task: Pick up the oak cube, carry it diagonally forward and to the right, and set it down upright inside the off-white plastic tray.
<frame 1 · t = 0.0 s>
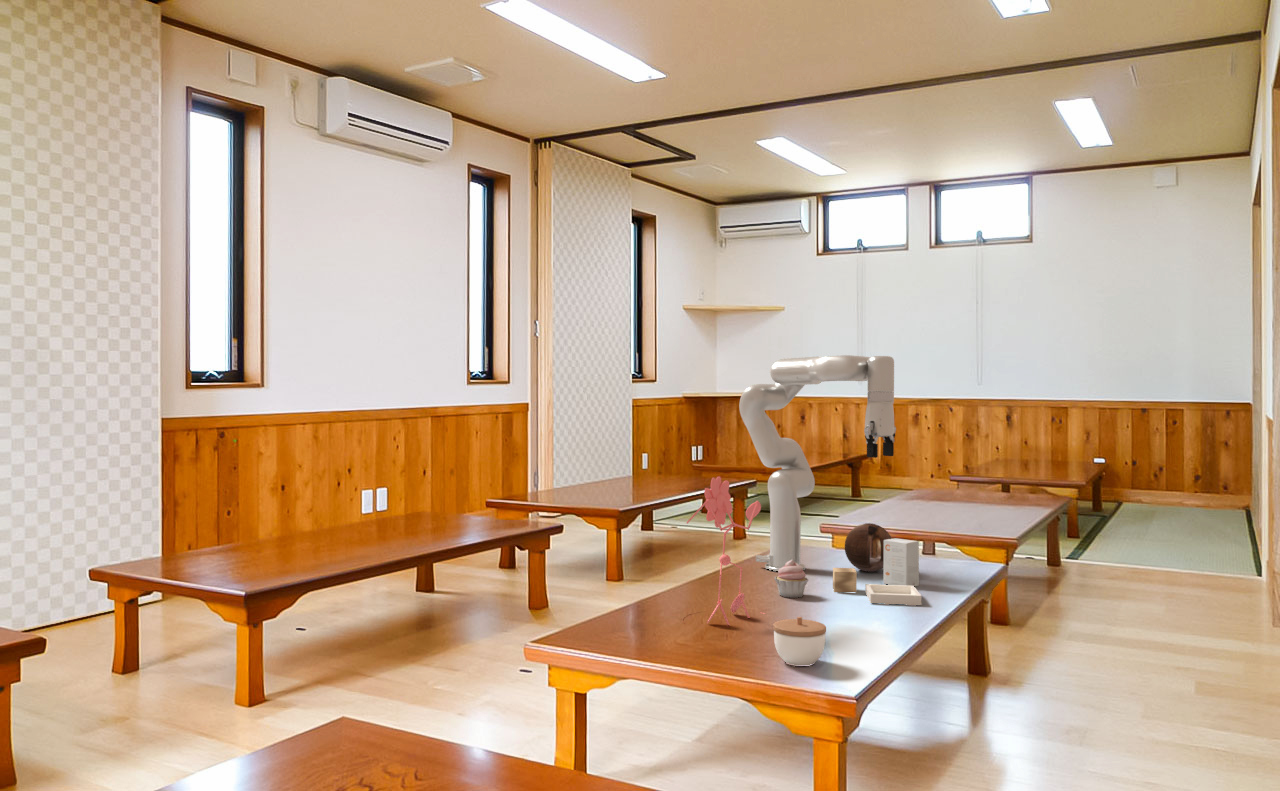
hand: (880, 456, 270), 37 cm above the table, tool pointing down, fingers open, 9 cm apart
figurine: (716, 619, 227), on the table
cube: (844, 591, 260), on the table
small box: (900, 585, 268), on the table
cupcake: (791, 596, 253), on the table
wooden sphere: (868, 571, 289), on the table
lidded jar: (799, 663, 190), on the table
tray: (892, 599, 249), on the table
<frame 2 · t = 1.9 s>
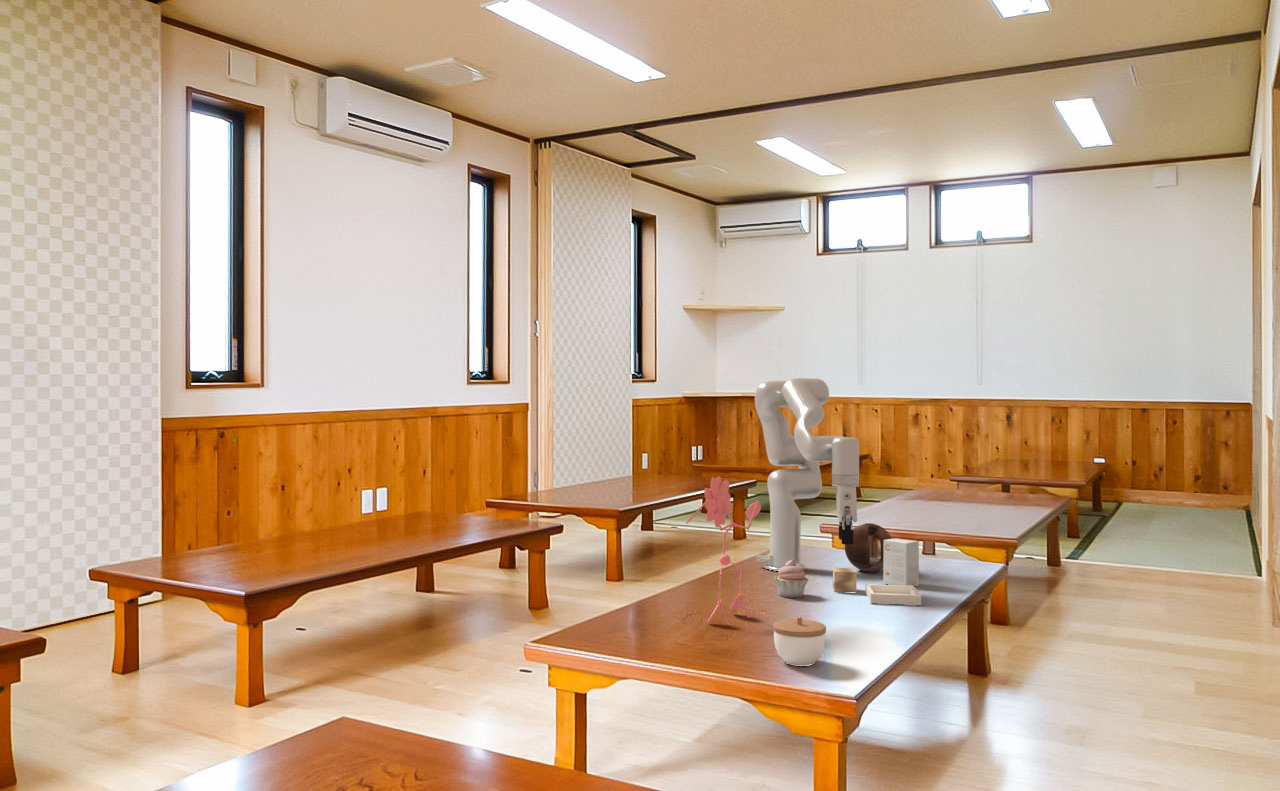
hand: (845, 541, 259), 14 cm above the table, tool pointing down, fingers open, 9 cm apart
nothing on the table moved.
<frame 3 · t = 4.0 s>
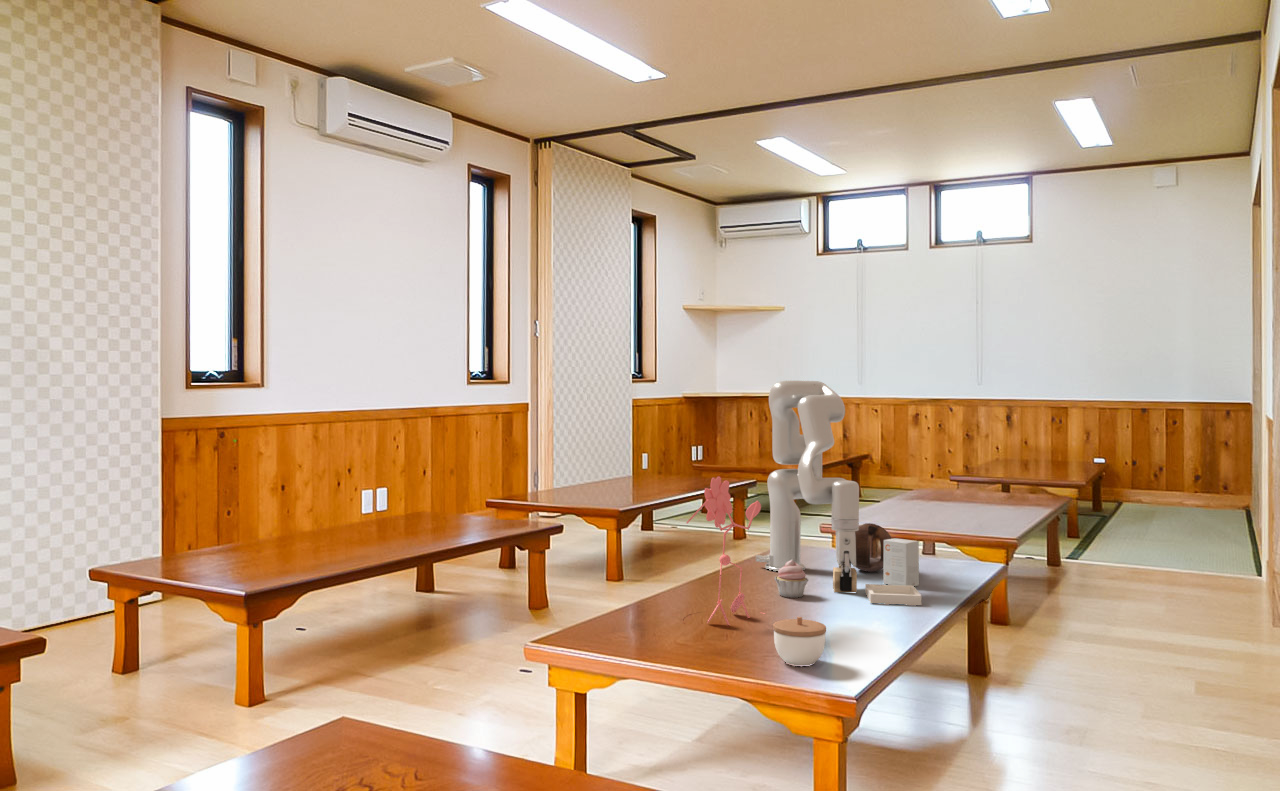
hand: (844, 587, 260), 1 cm above the table, tool pointing down, fingers closed on cube, 6 cm apart
cube: (844, 590, 260), on the table, touching gripper
everything else where it was.
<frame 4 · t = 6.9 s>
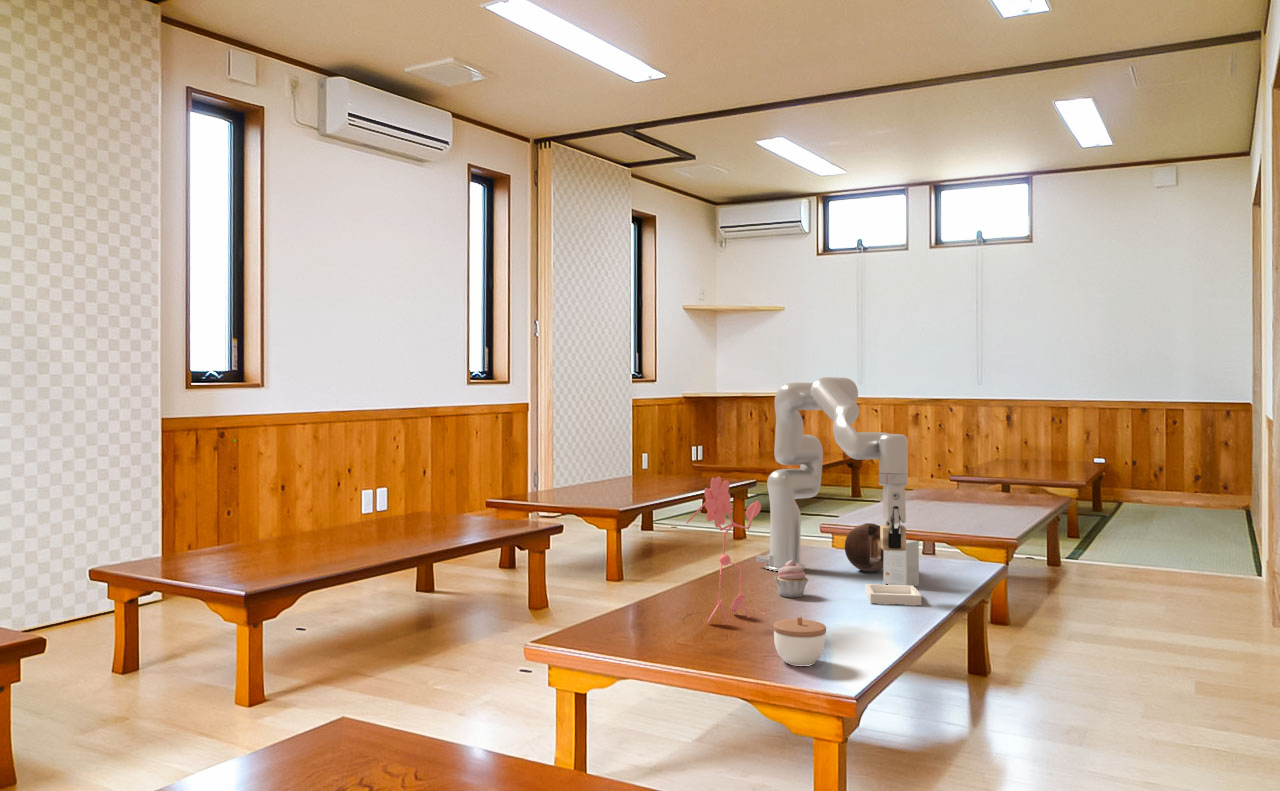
hand: (892, 545, 249), 15 cm above the table, tool pointing down, fingers closed on cube, 6 cm apart
cube: (892, 548, 249), point 14 cm above the table, touching gripper
everything else where it was.
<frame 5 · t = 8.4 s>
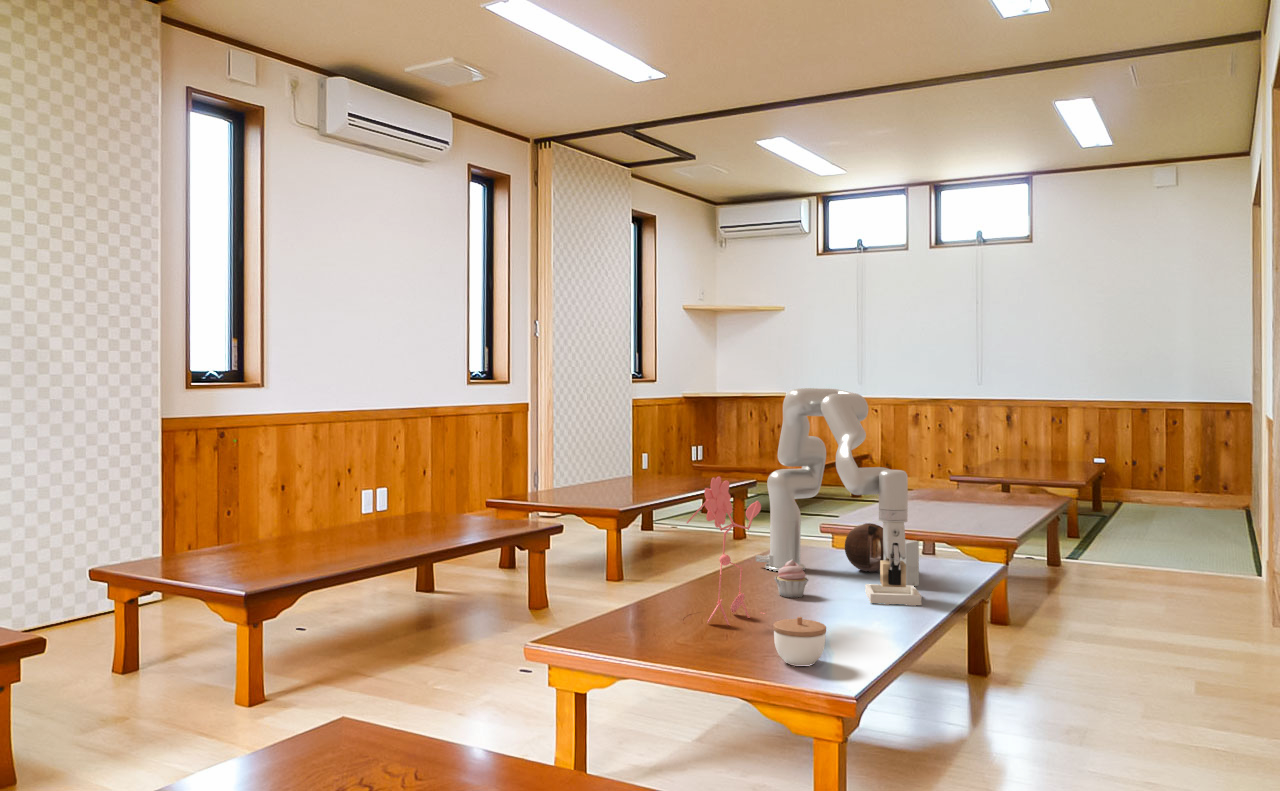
hand: (892, 581, 249), 5 cm above the table, tool pointing down, fingers closed on cube, 6 cm apart
cube: (892, 584, 249), point 4 cm above the table, touching gripper
everything else where it was.
when the fingers open (3 cm above the table, at t = 9.8 s): cube drops 1 cm, resting on tray.
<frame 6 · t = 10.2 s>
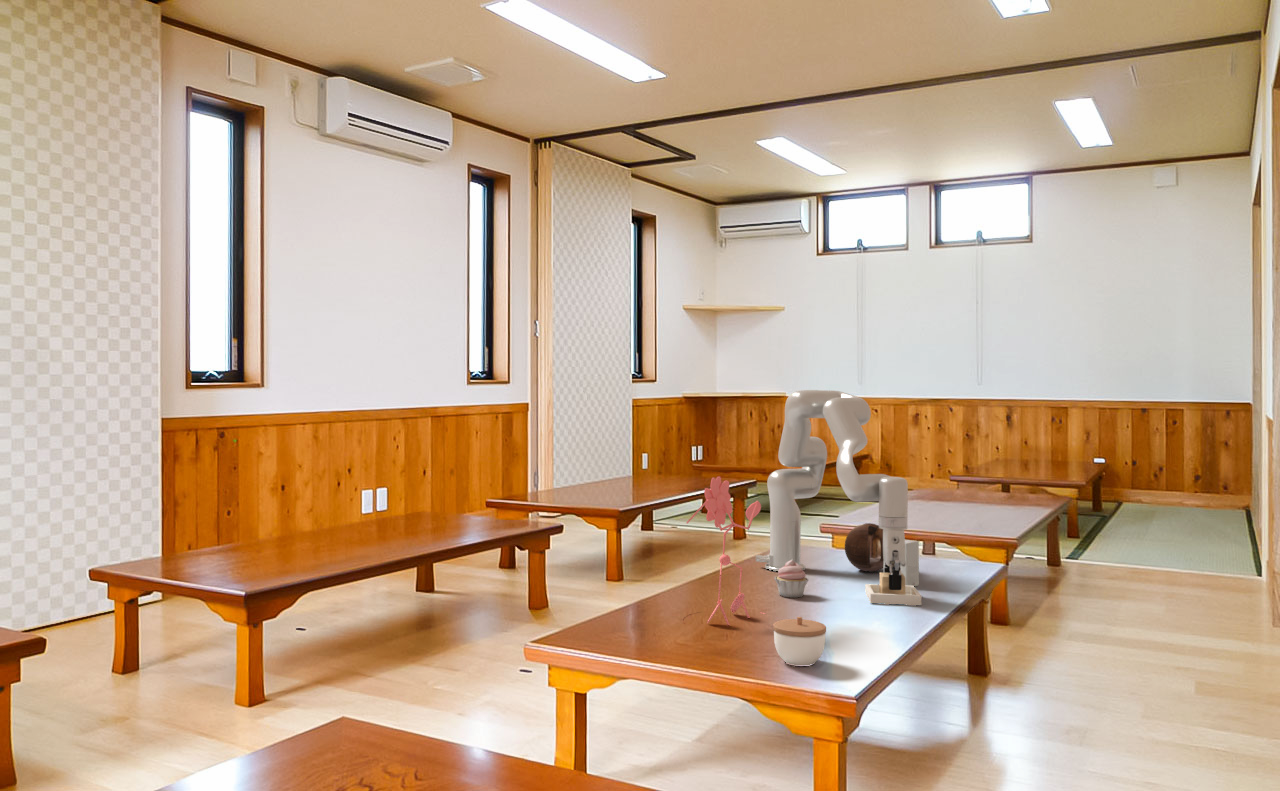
hand: (892, 586, 249), 4 cm above the table, tool pointing down, fingers open, 9 cm apart
cube: (892, 597, 249), point 1 cm above the table, touching tray
everything else where it was.
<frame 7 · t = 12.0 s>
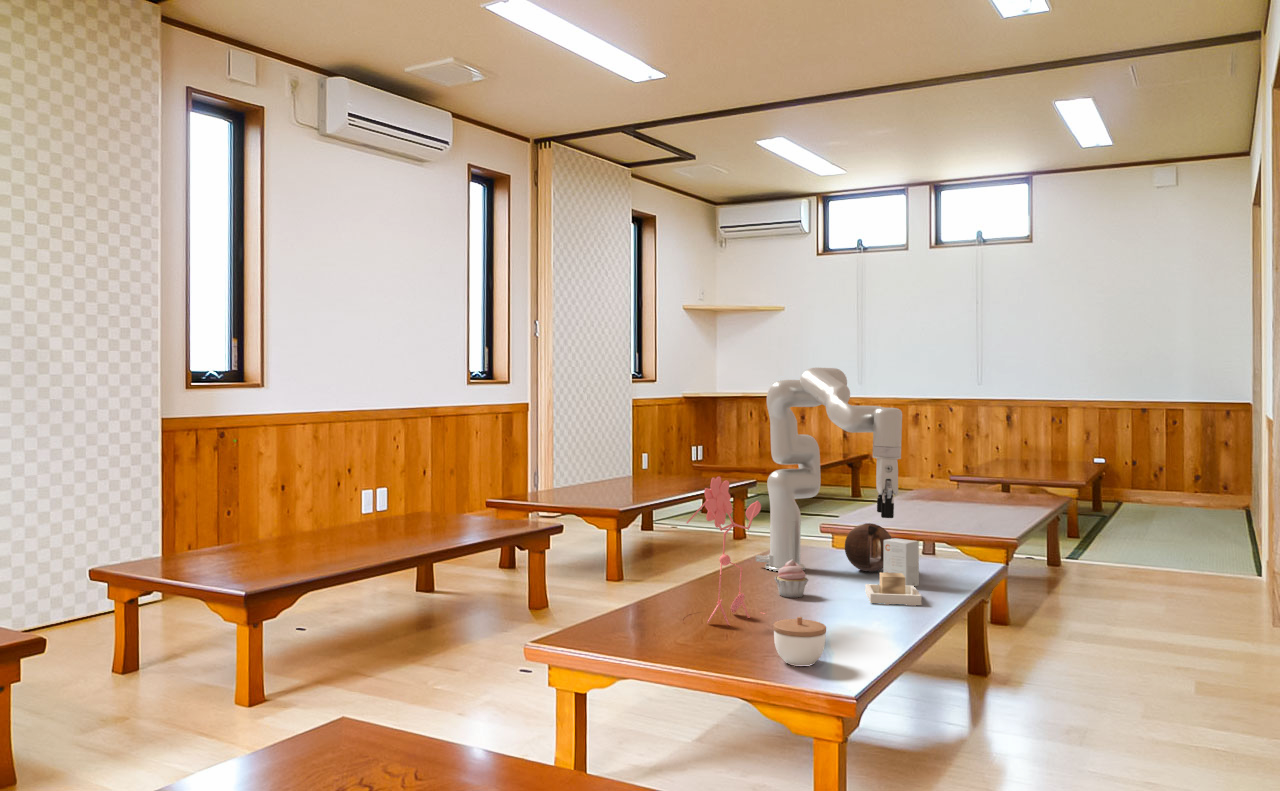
hand: (885, 515, 252), 22 cm above the table, tool pointing down, fingers open, 9 cm apart
nothing on the table moved.
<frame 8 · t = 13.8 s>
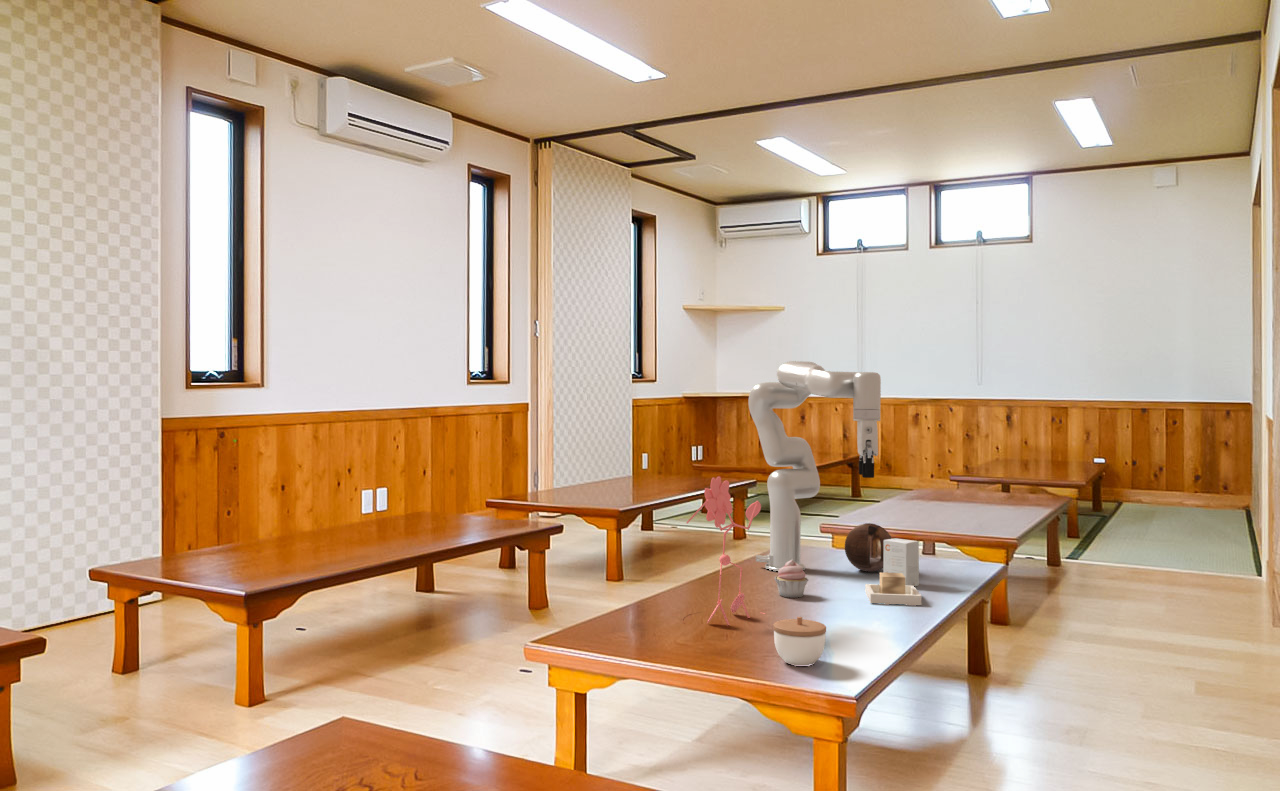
hand: (866, 476, 261), 32 cm above the table, tool pointing down, fingers open, 9 cm apart
nothing on the table moved.
at the end: cube inside the target area on the tray (0.1 cm from its centre), point 0.6 cm above the tray's base; cube tilted 0°; the gripper is holding nothing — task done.
